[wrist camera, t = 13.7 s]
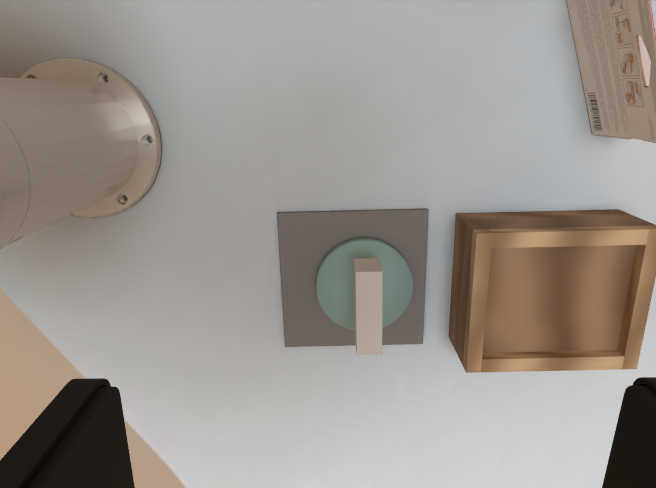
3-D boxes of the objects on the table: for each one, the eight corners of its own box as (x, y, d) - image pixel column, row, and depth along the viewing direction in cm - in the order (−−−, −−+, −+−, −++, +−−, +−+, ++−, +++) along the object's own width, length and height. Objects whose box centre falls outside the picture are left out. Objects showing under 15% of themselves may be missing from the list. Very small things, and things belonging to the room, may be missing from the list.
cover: (314, 238, 41) (312, 264, 35) (411, 235, 41) (425, 261, 35) (318, 324, 44) (316, 363, 38) (409, 321, 44) (422, 360, 38)
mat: (285, 344, 45) (285, 346, 45) (277, 212, 41) (277, 213, 41) (422, 341, 45) (422, 343, 45) (427, 208, 41) (428, 209, 40)
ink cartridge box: (593, -18, 36) (688, -56, 26) (619, 124, 39) (710, 135, 29) (561, -5, 36) (642, -38, 27) (589, 135, 39) (670, 149, 30)
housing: (448, 336, 45) (466, 372, 39) (456, 213, 41) (476, 233, 35) (597, 333, 45) (636, 368, 39) (618, 209, 41) (665, 228, 35)
